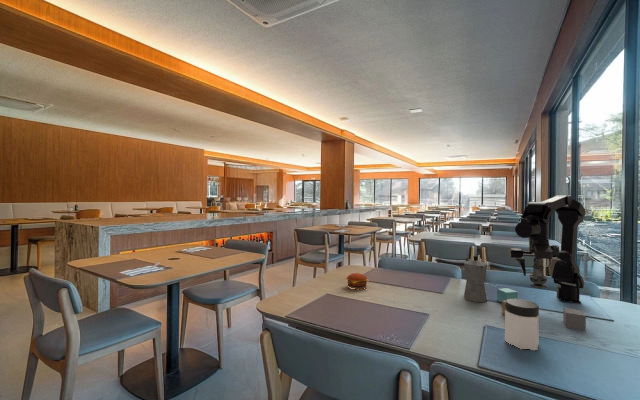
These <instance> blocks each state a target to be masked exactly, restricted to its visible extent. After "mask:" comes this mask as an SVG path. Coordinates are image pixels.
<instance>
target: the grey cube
mask: <svg viewBox="0 0 640 400" xmlns="http://www.w3.org/2000/svg"><path fill="white" fill-rule="evenodd" d="M562 314H563V315H562V316H563V317H562V318H563V320H562V321H563V322H562V323H563V325H564V326H565V328H567V329H571V330H578V331H582V332H586V331H587V328H586V327H587V324H586V322H587V315H586V314H585V312H584V311H583V310H580V309H574V308H566V307H563V313H562Z"/></svg>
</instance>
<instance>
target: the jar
mask: <svg viewBox="0 0 640 400" xmlns="http://www.w3.org/2000/svg"><path fill="white" fill-rule="evenodd" d="M505 306H506V310H505V315H504V342H505V341H506V342H508V343H509V344H508V343H507V344H508V345H510V344H511V345H510V346H512V345H514V346H516V347H518V348H520V349H519V350H522V349H532V350H531V351H535V350H537V351H538V347H539V344H540V343H539V342H540V341H539V340H540V338H539V337H540V335H539V334H540V329H539V328H540V318H539V317H540V305H539V304H538V303H536V302H534V301H531V300H528V299H522V298H518V299H507V300H506V303H505ZM506 342H505V343H506ZM514 346H513V347H514ZM516 347H515V348H516ZM518 348H517V349H518Z"/></svg>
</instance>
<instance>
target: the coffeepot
mask: <svg viewBox="0 0 640 400" xmlns="http://www.w3.org/2000/svg"><path fill="white" fill-rule="evenodd" d="M463 266H464V273H465V279H466V280H465V281H466V282H465V286H464V292H463V298H464V299H465V300H467V301H470V302H475V303H485V302H487V301H488V299H487V292H486V286H485V280H486V276H487V270H488V263H487V262H483V261H481V260H478V256H476V255H474V256H473V259H471V258H469V257H468V258H466V259H465V261H464V260H463Z"/></svg>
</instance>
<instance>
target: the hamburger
mask: <svg viewBox="0 0 640 400" xmlns="http://www.w3.org/2000/svg"><path fill="white" fill-rule="evenodd" d="M344 280H347V287H348V286H349V287H351V288H355V289H364V288H366V287H368V285H367V284H368V282H370V280H369V279H368V276H366V275H365V274H363V273H359V272H354V273H351V274H349V275H348V276H347V277H345V278H344ZM366 289H367V288H366ZM364 290H365V289H364Z"/></svg>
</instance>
